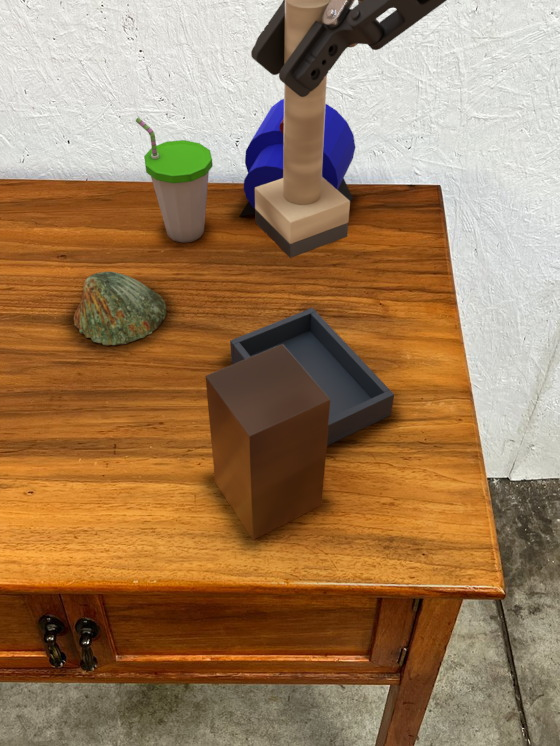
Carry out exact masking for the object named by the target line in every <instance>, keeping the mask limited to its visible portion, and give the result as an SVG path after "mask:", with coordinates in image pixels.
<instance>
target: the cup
mask: <svg viewBox="0 0 560 746" xmlns="http://www.w3.org/2000/svg"><path fill="white" fill-rule="evenodd" d="M135 122H136V123H137V124H138V126H140V127H141V128H142V129H144V130H145V131H146V132H147V133H148V135H149V137H150V145H151V148H150V149H149V150H148V151H147V152H146V153H145V154H144V156H143V158H144V165H145V173H146V174H147V175H149V176H150V179H151V182H152V185H153V189H154V193H155V195H156V199H157V203H158V206H159V210H160V214H161V216H162V219H163V224H164V228H165V231H166V235H167V237H168V238H169V239H170V240H172V241H173V242H177V243H182V244H183V243H192V242H194V241H197V240H199V239H201V237H202V236H203V235H204V234H205V223H206V211H207V200H208V199H207V198H208V185H209V175H210V171H211V169H212V168H213V158H212V152H211V150H210V149H209V148H208V147H206V146H204V145H203V144H201V143H200V142H195V141H190V140H185V139H181V140H169V141H165V142H162V143H160V144H157V140H156V134H155V132H154V130H153V129H152V128H151V127H150V126H149V125H148V124H147V123H146V122H145V121H144V120H143V119H141V118H140V117H139V116H137V117H136V119H135Z"/></svg>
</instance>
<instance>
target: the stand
mask: <svg viewBox="0 0 560 746" xmlns="http://www.w3.org/2000/svg"><path fill="white" fill-rule="evenodd" d="M205 385H206V386H205V387H206V398H207V399H206V400H207V407H208V409H207V410H208V419H209V421H208V422H209V430H210V432H209V433H210V442H211V452H212V464H213V475H214V483H215V485H216V486H217V488H218V489H219V491H220V493H221V494H222V496H223V497H224V498H225V500H226V502H227V504H228V505H229V506H230V508H231V509H232V510H233V511H234V514H235V516H237V518H238V520H239V521H240V523H241V524H242V526H243V527H244V529H245V530H246V532H247V533H248V535H249V536H250V538H251V540H252V541H254V540H257V539H259V538H260V537H262V536H265V535H266V534H269V533H270V532H272V531H274V530H276V529H279V528H280V527H282V526H284V525H286V524H288V523H290V522H293V521H294V520H296V519H298V518H300V517H302V516H304V515H306V514H308V513H310V512H312V511H313V510H315V509H318V508H319V507H321V506H322V505H323V496H324V485H325V473H326V458H327V448H328V446H327V436H328V423H329V411H330V398H329V397H328V396H327V395H326V394H325V392H324V391H323V390H322V389H321V388H320V387H319V386H318V384H317V383H316V382H315V381H314V380H313V379H312V377H311V376H310V375H309V374H308V373H307V372H306V370H305V369H304V368H303V367H302V366H301V365H300V363H299V362H298V361H297V360H296V359H295V358H294V357H293V355H292V354H291V353H290V352H289V351H288V350H287V348H286V347H285V346H284V345H283V344H281V345H279V346H276V347H274V348H271V349H269V350H267V351H264V352H262V353H259V354H257V355H254V356H252V357H250V358H247V359H245V360H242V361H240V362H237V363H235V364H233V363H232V364H230V365H228V366H226V367H224V368H220V369H218V370H216V371H213V372H211V373H209V374H206V375H205Z"/></svg>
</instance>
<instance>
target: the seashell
mask: <svg viewBox="0 0 560 746" xmlns="http://www.w3.org/2000/svg"><path fill="white" fill-rule="evenodd" d="M81 294H82V295H81V298H80V303H79V305H78V306H77V308H76V310H75V312H74V315H73V323H74V324H73V325H74V327H75V328H77V329H78V331H79V334H80V335H81V334H82V335H84V336H85V338H87V339H88V338H89V339H91V342H93V343H97V344H102V345H103V346H107V347H108V346H119V345H128V344H129V343H131V342H132V343H133V342H136V341H137V340H139V339H144V338H146V337H147V336H150V335H151V334H153V332H154V331H156V330H157V329H158V328H159V327H160V326H161V325H162V322H163V321H164V320H165V319H166V316H167V314H168V312H167V305H166V301H165V300H164V299H163V297H162V296H161V295H160V294H159V293H157V292H156V291H154V290H152V289H151V288H150V287H148V286H146V285H145V284H144V283H142V282H141V281H140V280H137V279H135V278H133V277H131V276H129V275H126V274H123V273H120V272H116V271H101V272H96V273H94V274H91V275H89V276H88V277H87V278H86V279H85V280H84V282H83V286H82V293H81Z"/></svg>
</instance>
